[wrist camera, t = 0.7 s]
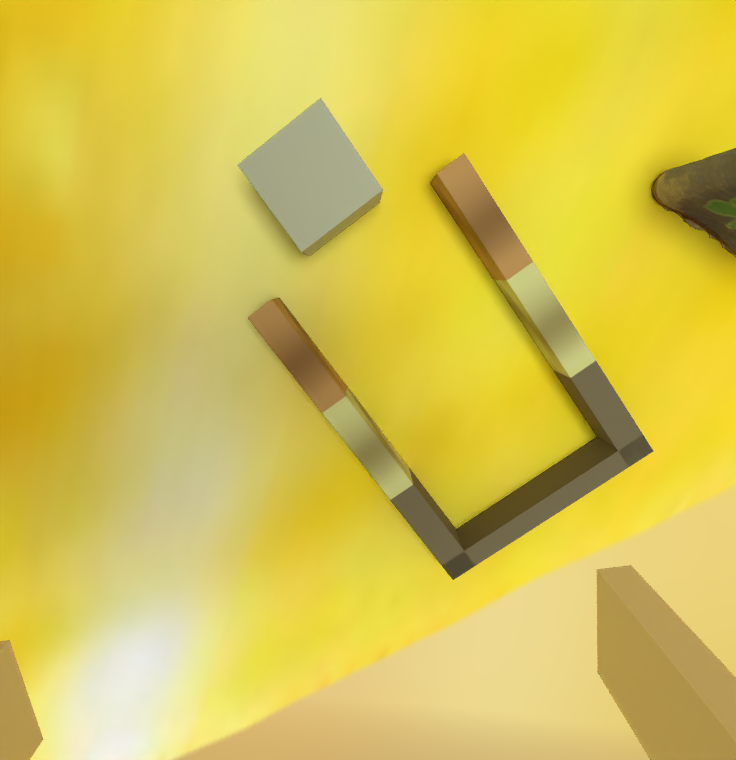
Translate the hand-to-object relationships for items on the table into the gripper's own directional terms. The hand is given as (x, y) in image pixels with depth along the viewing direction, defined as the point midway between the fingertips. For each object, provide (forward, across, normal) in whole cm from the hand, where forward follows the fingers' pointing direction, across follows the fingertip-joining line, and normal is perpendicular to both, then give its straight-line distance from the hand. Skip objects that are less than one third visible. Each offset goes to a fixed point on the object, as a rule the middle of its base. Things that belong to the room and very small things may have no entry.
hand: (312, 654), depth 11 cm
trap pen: (+25, +12, -7) cm, 29 cm away
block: (+26, 0, +14) cm, 29 cm away
